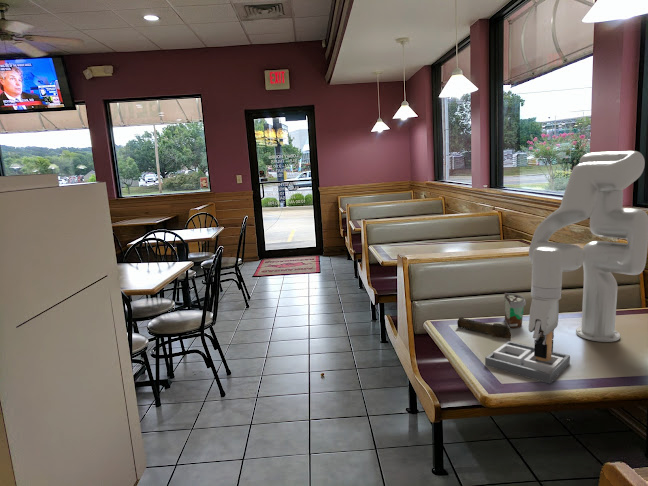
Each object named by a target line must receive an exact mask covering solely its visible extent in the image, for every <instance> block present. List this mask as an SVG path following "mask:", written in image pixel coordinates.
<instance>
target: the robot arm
mask: <svg viewBox="0 0 648 486" xmlns="http://www.w3.org/2000/svg"><path fill="white" fill-rule="evenodd" d="M645 162H646V160H645V157H644V155H643V154H642V153H641V152H640V151H637V150H621V151H620V150H618V151H595V152H589V153H586V154H583V155H582V156H581V157H580V159H579V163H578V164H576V165H575V166H574V167H573V168H572V170H571V173H570V176H569V178H568V182H567V185H566V187H565V189H564V190H565V191H564V193H563V196H562V199H561V203H560V206H559V207H558V208H557V209H556V210H555V211H553V212H551V213H550V214H548V216H547V217H545V218H544V219H543V220H542V221H541V222H540V223H539V224H538V226H537V227H536V228H535V231H534V233H533V236H532V239H531V242H530V244H529V247H528V248H529V249H528V259H529V262H530V263H531V286H530V287H531V288H530V289H531V290H530V297H531V298H532V299H531V303H530V308H529V309H530V310H529V316H528V317H529V318H528V319H529V320H528V321H529V322H528V332H529V333H533V334H532V339H534V346H533V347H534V356H536V357H540V358H544V359H546V358H547V345H546V338H547V334H549V333H550V332H551V331H552V352H554V337H555V334H554V332H555V329H556V328H557V327H558V325H559V324H558V323H559V300H561V299H562V289H563V288H562V287H563V285H562V283H563V272H573V271H576V270H578V269H580V268H581V267H582V266H583V267H582V268H583V290H582V291H583V292H582V307H581V309H582V311H581V326H578V327H576V328H575V334H576V335H577V336H579V337H580V338H582V339H585V340H589V341H594V342H599V343H613V342H617V341H619V340H620V339H621V334H620V332H618V331H617V330H616V320H617V319H616V317H617V300H618V283H617V280H616V278H615V277H614V275H613V273H614V274H623V275H629V276H630V275H631V276H637V275H640V274H641V273H643V271H644V270H645V267H646V264H647V257H648V213H647V212H646V211H645V210H643V209H640V208H630V207H624V206H623V202H624V201H623V200H624V191H623V190H625V189H627V188H628V187H629V186H631V184H633V183H634V182H636V181H637V180H638V179H639V178H640V177H641V176H642V174H643V172H644V169H645V164H646V163H645ZM588 219H589V229H590V230H589V231H590V233H591V234H592V235H594V236H596V237H600V238H601V237H602V238H609V239H620V240H626V241H627V243H626V242H625V243H624V242H616V241H614V242H613V241H606V240H604V241H603V240H592V241H590V242H588V243H586V244H585V245H584V246H583V247H581V246H578V245H576V244H571V243H564V242H556V241H549V240H550V238H551V236H553V235H554V233H556V232H557V231H559V230H561V229H563V228H565V227H568V226H571V225H574V224H578V223H579V222H583V221H586V220H588ZM540 331H544V332H543V333H541V332H540ZM540 335H541V336H543V338H542V337H540Z"/></svg>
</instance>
